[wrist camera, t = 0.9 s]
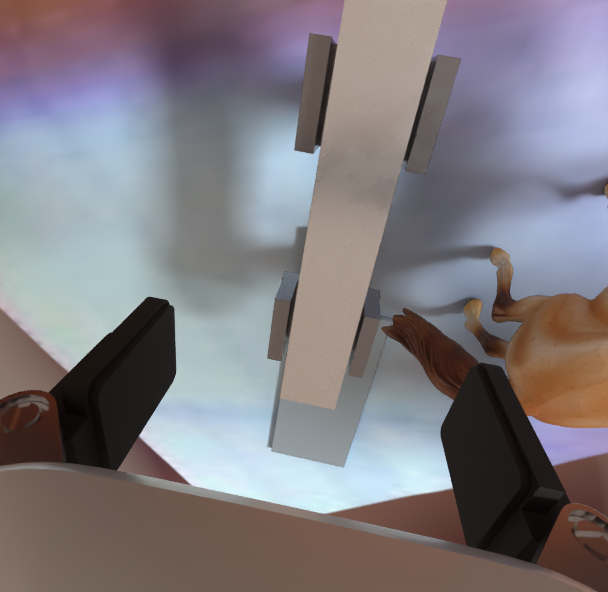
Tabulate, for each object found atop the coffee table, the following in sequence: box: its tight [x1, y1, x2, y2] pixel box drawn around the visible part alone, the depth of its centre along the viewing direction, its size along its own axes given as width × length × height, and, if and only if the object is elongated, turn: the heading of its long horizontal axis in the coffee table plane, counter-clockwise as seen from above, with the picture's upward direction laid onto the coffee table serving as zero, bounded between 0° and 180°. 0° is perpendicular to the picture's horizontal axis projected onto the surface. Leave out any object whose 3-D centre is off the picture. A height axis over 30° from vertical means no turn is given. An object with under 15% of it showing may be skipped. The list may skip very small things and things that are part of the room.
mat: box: [271, 316, 392, 467], centre depth 44 cm, size 10×24×1 cm, turn 172°
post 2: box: [267, 240, 380, 378], centre depth 30 cm, size 7×6×13 cm
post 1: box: [294, 33, 461, 174], centre depth 23 cm, size 7×6×13 cm
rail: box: [280, 0, 447, 410], centre depth 22 cm, size 4×24×4 cm, turn 172°
